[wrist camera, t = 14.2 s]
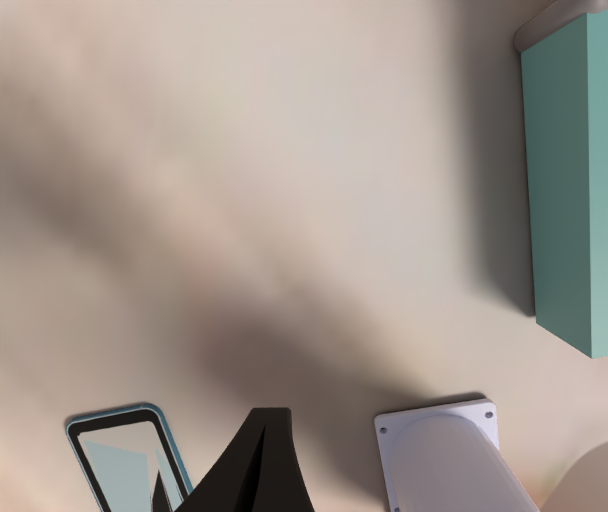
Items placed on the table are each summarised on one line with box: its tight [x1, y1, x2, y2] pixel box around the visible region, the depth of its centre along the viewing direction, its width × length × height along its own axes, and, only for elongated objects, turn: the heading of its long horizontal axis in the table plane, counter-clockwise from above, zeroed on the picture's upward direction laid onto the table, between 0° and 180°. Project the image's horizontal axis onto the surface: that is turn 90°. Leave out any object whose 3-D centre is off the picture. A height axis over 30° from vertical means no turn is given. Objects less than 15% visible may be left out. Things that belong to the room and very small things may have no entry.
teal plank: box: [514, 0, 608, 359], centre depth 16 cm, size 17×1×4 cm, turn 12°
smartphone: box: [66, 404, 193, 512], centre depth 24 cm, size 7×1×15 cm
